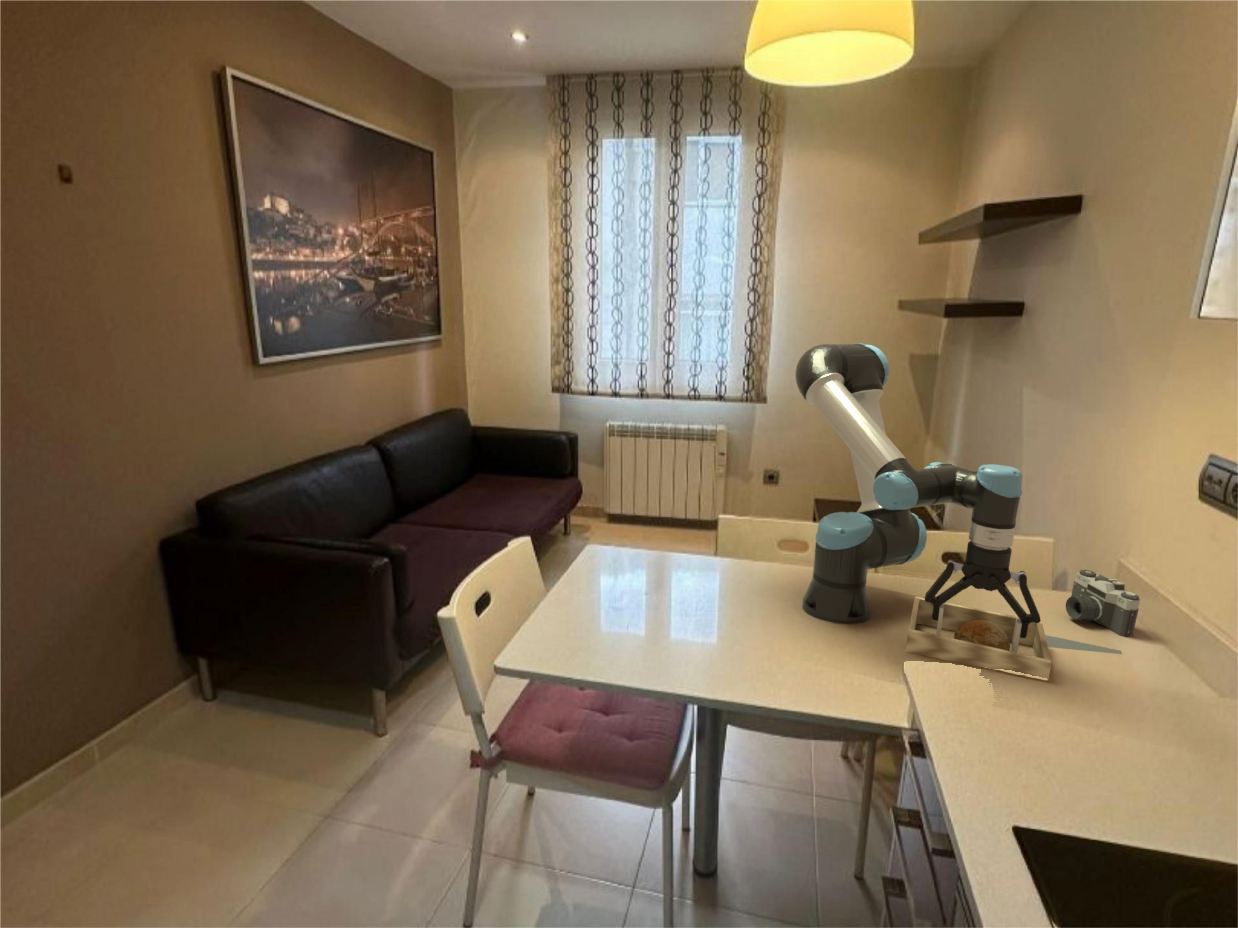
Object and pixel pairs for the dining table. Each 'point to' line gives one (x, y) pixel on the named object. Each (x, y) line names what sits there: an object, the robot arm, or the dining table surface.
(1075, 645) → the mat
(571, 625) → the dining table surface
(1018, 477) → the robot arm
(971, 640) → the bread roll
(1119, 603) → the camera
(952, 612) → the crate
